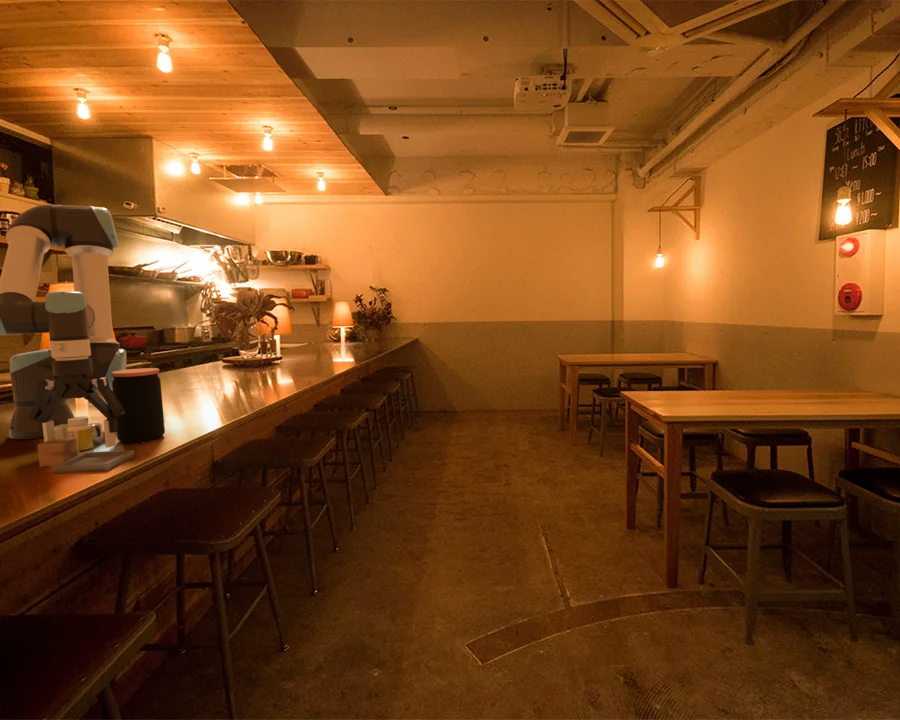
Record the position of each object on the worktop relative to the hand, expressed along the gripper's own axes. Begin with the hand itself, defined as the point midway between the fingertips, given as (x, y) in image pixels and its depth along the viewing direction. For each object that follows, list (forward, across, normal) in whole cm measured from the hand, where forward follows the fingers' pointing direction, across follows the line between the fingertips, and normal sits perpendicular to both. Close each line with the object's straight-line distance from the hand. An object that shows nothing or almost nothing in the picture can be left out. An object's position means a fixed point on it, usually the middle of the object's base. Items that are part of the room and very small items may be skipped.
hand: (81, 447), depth 124 cm
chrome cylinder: (+1, -2, +8) cm, 8 cm away
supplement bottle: (+2, 0, 0) cm, 2 cm away
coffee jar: (+2, +8, +11) cm, 14 cm away
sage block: (+1, -9, +8) cm, 12 cm away
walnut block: (+1, 0, -8) cm, 8 cm away
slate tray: (+1, +10, -11) cm, 15 cm away
